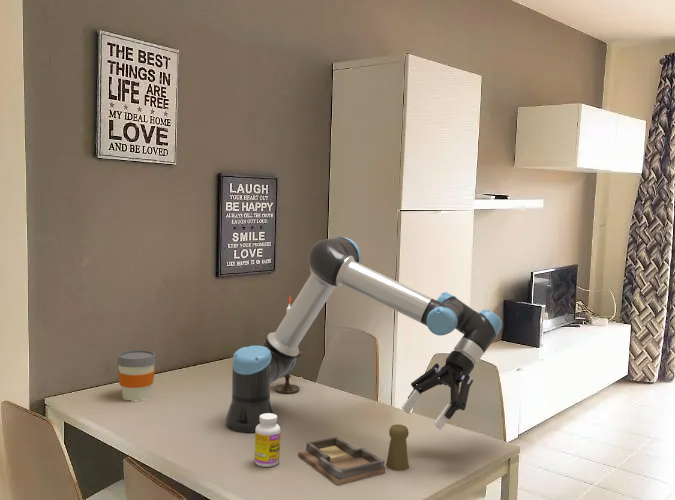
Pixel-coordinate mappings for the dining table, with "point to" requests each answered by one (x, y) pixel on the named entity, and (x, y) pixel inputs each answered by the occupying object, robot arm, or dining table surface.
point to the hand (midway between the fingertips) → (420, 418)
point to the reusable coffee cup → (136, 373)
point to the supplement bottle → (267, 441)
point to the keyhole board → (341, 460)
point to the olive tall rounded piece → (398, 448)
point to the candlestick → (288, 375)
